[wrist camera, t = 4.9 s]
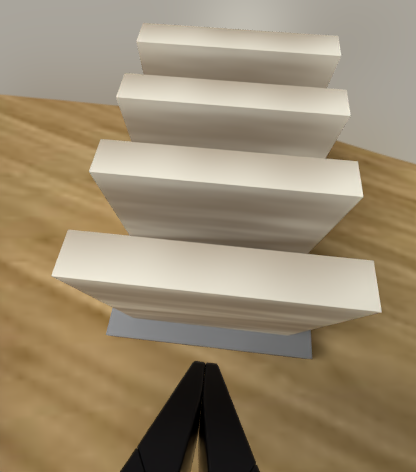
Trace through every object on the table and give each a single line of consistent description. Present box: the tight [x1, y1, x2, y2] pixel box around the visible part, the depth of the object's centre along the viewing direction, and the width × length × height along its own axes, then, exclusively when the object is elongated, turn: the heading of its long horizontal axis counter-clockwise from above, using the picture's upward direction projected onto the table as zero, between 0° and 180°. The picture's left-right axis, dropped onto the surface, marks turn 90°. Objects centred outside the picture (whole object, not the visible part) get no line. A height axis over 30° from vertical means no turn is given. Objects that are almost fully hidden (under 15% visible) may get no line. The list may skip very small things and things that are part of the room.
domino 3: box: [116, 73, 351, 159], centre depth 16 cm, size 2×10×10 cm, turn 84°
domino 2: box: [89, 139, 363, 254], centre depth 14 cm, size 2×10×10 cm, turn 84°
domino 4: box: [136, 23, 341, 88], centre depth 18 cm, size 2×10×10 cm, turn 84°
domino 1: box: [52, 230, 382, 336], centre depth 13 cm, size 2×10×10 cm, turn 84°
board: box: [106, 308, 312, 359], centre depth 20 cm, size 16×13×1 cm
